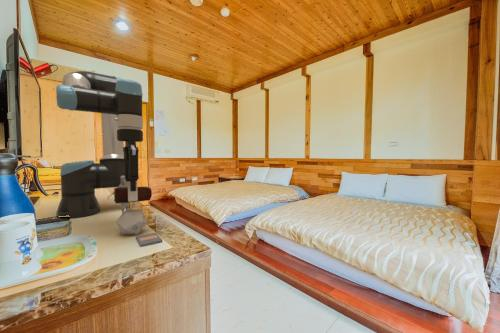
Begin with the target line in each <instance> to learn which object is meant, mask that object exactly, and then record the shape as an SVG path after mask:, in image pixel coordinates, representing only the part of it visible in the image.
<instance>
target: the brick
mask: <svg viewBox="0 0 500 333" xmlns="http://www.w3.org/2000/svg"><path fill="white" fill-rule="evenodd" d="M137 189H138V201H130V202H128V187H120V188H118V187H114V190H113V191H114V194H113V195H114V197H113V198H114V203H115V204H121V203H129V204H130V203H138V202H145V201H150V200H151V198H152V195H153V194H152V193H153V192H152V191H153V190H152V188H151V187H149V186H137Z"/></svg>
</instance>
